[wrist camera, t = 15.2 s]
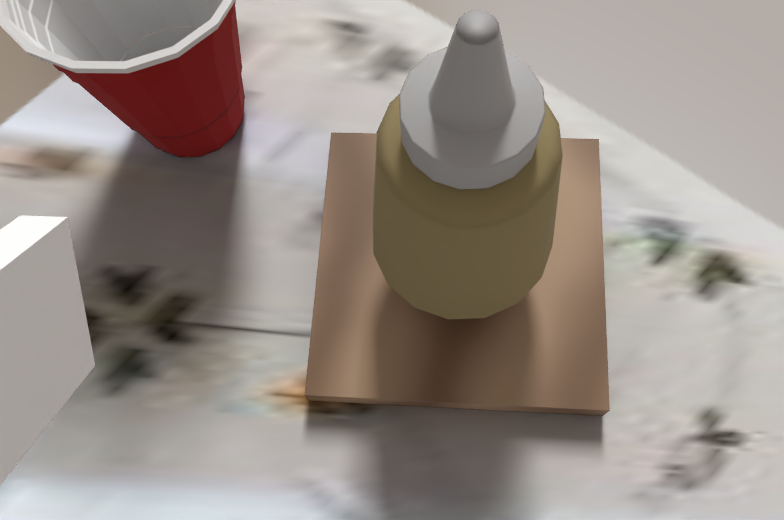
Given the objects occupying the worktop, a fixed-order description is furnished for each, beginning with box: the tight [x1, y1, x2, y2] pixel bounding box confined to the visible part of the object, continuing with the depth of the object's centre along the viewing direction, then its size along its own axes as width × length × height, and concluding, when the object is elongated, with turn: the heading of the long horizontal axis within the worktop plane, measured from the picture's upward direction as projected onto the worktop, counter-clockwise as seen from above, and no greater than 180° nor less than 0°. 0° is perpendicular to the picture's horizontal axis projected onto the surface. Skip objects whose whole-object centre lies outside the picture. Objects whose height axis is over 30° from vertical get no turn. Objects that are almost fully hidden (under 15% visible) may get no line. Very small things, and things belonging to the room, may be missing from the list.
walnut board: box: [305, 133, 610, 416], centre depth 38 cm, size 14×14×2 cm
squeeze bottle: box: [373, 10, 563, 319], centre depth 29 cm, size 8×8×18 cm
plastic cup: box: [0, 0, 245, 157], centre depth 37 cm, size 11×11×12 cm
